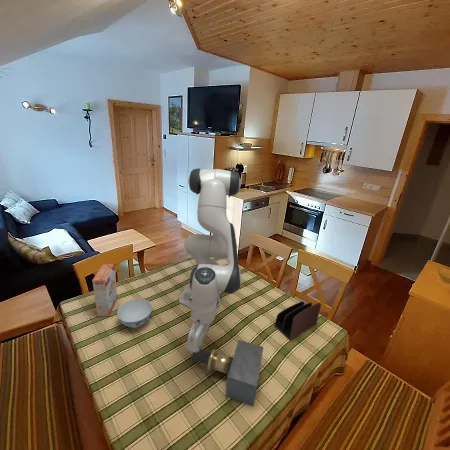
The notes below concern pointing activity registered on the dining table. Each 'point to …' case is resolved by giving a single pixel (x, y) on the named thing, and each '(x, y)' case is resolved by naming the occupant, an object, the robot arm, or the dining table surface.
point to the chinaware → (134, 312)
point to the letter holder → (297, 319)
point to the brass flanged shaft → (213, 360)
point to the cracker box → (105, 290)
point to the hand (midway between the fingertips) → (202, 339)
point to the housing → (244, 372)
